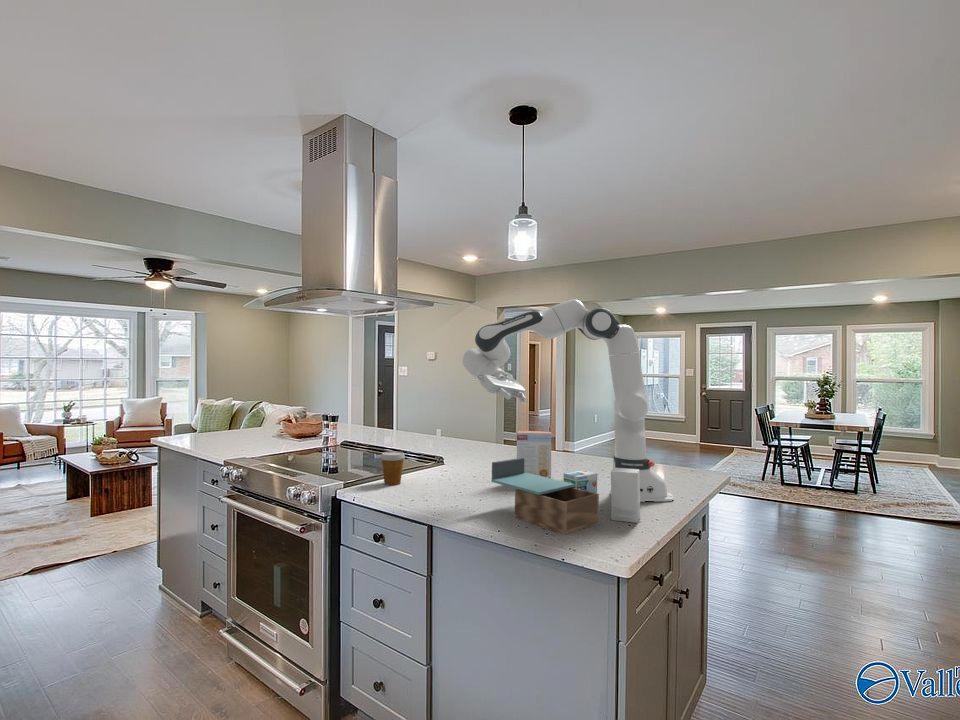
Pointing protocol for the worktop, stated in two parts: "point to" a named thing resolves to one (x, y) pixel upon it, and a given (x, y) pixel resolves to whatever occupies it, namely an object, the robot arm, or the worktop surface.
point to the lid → (524, 478)
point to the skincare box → (625, 494)
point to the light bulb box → (582, 480)
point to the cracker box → (535, 452)
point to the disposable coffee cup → (392, 467)
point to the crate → (558, 509)
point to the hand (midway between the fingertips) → (517, 399)
